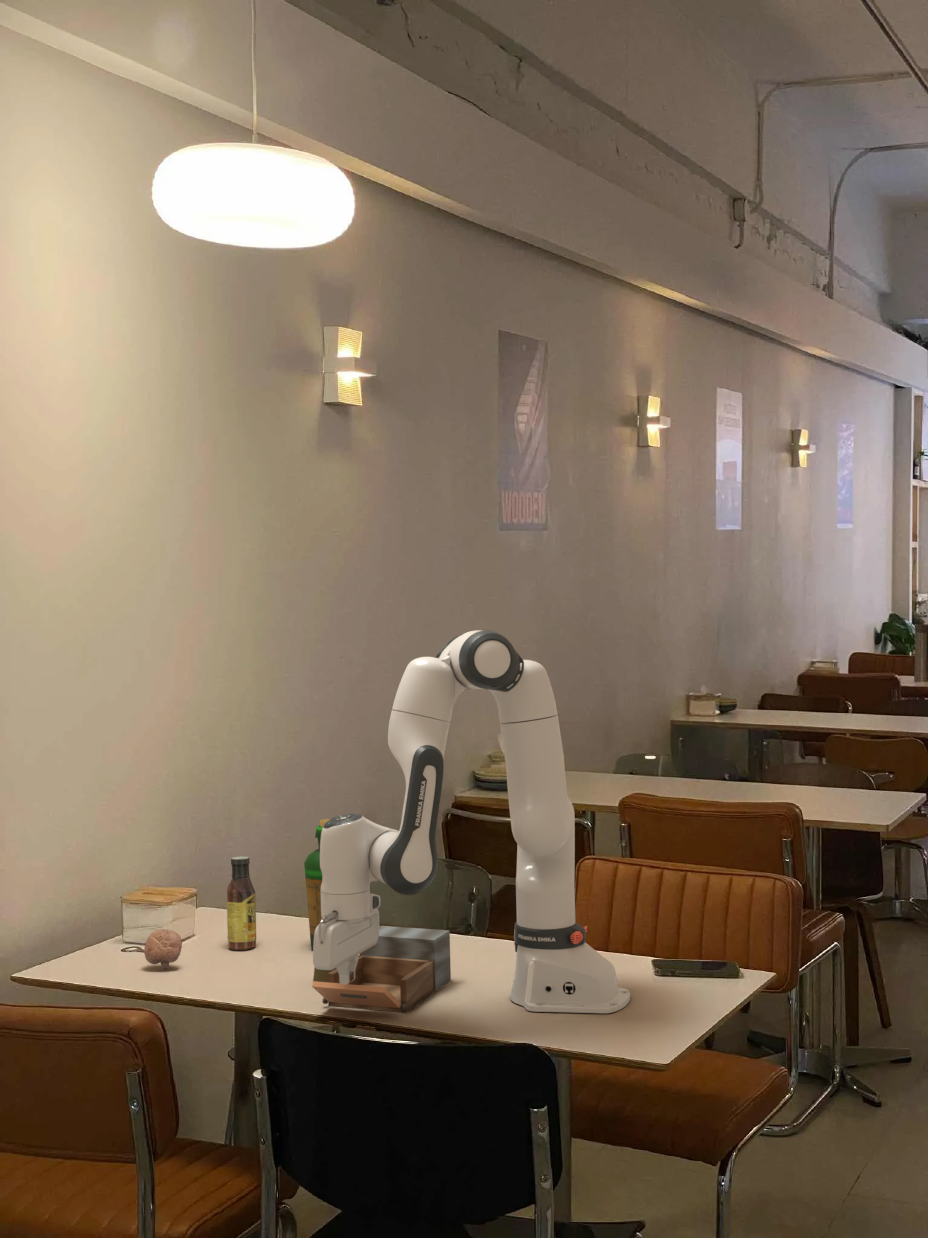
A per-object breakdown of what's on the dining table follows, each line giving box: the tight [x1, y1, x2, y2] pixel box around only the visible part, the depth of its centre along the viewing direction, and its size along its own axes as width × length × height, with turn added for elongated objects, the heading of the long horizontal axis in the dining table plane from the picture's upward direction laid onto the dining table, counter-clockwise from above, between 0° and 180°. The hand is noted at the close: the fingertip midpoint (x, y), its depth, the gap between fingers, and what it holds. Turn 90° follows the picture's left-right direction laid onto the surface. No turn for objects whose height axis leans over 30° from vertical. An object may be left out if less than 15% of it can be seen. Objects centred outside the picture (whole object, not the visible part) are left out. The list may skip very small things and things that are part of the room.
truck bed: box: [322, 925, 452, 1014], centre depth 267 cm, size 17×24×10 cm
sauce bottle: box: [226, 855, 257, 951], centre depth 305 cm, size 7×6×20 cm
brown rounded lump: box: [143, 928, 183, 970], centre depth 289 cm, size 8×6×8 cm
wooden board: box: [311, 981, 401, 1008], centre depth 253 cm, size 14×1×8 cm
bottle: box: [304, 818, 331, 950], centre depth 303 cm, size 11×11×28 cm
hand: (347, 982), depth 250 cm, fingers closed
